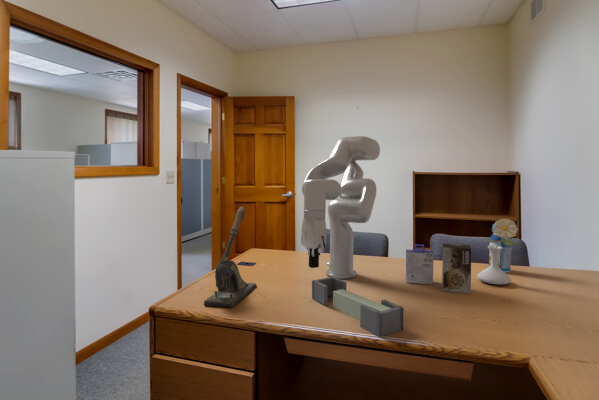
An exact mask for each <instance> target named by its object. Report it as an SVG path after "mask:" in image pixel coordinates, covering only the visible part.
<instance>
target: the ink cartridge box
mask: <svg viewBox="0 0 599 400" xmlns="http://www.w3.org/2000/svg"><path fill="white" fill-rule="evenodd" d="M413 245H414V249H405V251H406V252H405V282H406V284H423V285H433V284H434V256H435V255H434V251H433V250H431V249H425V244H424V243H423V244H422V243H421V244H420V243H414V244H413Z"/></svg>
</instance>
